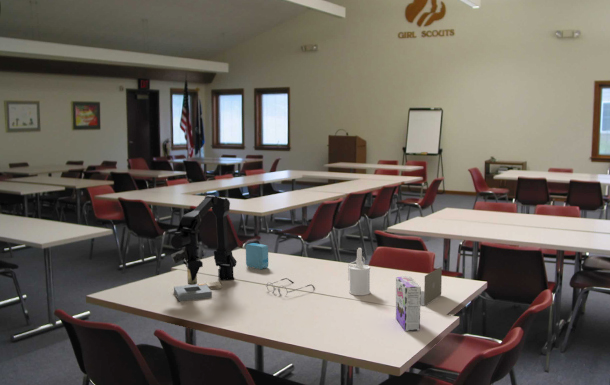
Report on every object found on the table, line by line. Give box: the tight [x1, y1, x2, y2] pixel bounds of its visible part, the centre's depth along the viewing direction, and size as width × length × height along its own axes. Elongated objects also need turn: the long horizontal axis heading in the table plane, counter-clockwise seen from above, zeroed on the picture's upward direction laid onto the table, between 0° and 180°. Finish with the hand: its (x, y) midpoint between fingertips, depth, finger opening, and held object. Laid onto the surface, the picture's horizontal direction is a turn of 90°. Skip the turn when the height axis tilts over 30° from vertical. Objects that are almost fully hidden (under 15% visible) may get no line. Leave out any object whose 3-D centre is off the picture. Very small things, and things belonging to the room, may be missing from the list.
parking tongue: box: [205, 281, 222, 290], centre depth 259 cm, size 6×6×2 cm
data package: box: [245, 242, 269, 270], centre depth 294 cm, size 12×4×12 cm, turn 52°
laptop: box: [420, 266, 443, 307], centre depth 239 cm, size 18×12×13 cm
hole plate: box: [173, 282, 213, 302], centre depth 248 cm, size 14×14×3 cm
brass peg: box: [186, 267, 198, 285], centre depth 247 cm, size 4×4×8 cm
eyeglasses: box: [265, 277, 315, 296], centre depth 254 cm, size 16×19×5 cm
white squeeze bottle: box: [347, 247, 371, 297], centre depth 248 cm, size 10×9×20 cm
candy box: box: [395, 276, 422, 332], centre depth 207 cm, size 14×6×16 cm, turn 5°
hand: (192, 279), depth 247 cm, fingers closed on brass peg, 4 cm apart
